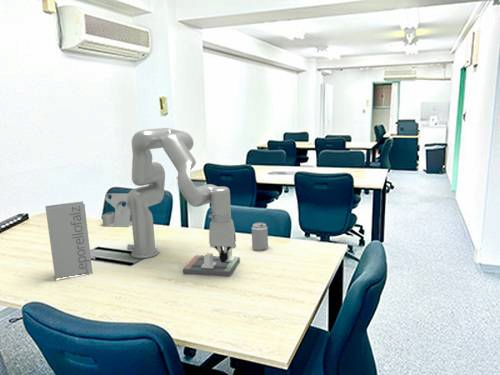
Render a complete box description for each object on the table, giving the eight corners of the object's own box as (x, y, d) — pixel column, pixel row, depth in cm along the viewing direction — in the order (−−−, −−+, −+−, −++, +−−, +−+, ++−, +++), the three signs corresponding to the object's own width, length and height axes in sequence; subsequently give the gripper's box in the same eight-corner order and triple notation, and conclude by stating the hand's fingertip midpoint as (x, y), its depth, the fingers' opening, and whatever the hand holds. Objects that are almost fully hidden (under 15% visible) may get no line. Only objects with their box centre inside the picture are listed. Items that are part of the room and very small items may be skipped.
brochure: (55, 281, 169) (45, 208, 163) (54, 276, 174) (45, 206, 168) (92, 273, 175) (84, 203, 169) (90, 269, 180) (82, 201, 174)
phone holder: (101, 226, 244) (97, 196, 241) (110, 221, 254) (106, 192, 250) (128, 227, 241) (125, 196, 237) (136, 222, 250) (133, 192, 247)
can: (266, 251, 193) (266, 226, 191) (250, 251, 195) (249, 226, 192) (269, 246, 200) (268, 222, 198) (253, 245, 202) (253, 221, 200)
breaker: (221, 261, 177) (220, 250, 176) (224, 257, 182) (223, 246, 181) (232, 262, 176) (231, 251, 175) (235, 257, 181) (234, 247, 180)
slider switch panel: (183, 273, 171) (182, 268, 171) (196, 259, 187) (196, 255, 186) (230, 276, 167) (229, 271, 166) (239, 261, 182) (239, 257, 182)
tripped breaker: (201, 268, 171) (200, 256, 170) (205, 263, 175) (204, 252, 174) (212, 268, 170) (212, 257, 169) (216, 264, 174) (216, 253, 173)
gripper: (200, 219, 165) (203, 263, 169) (237, 220, 162) (239, 265, 165) (206, 214, 172) (209, 257, 176) (242, 215, 169) (243, 258, 172)
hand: (223, 261), depth 171 cm, fingers closed
